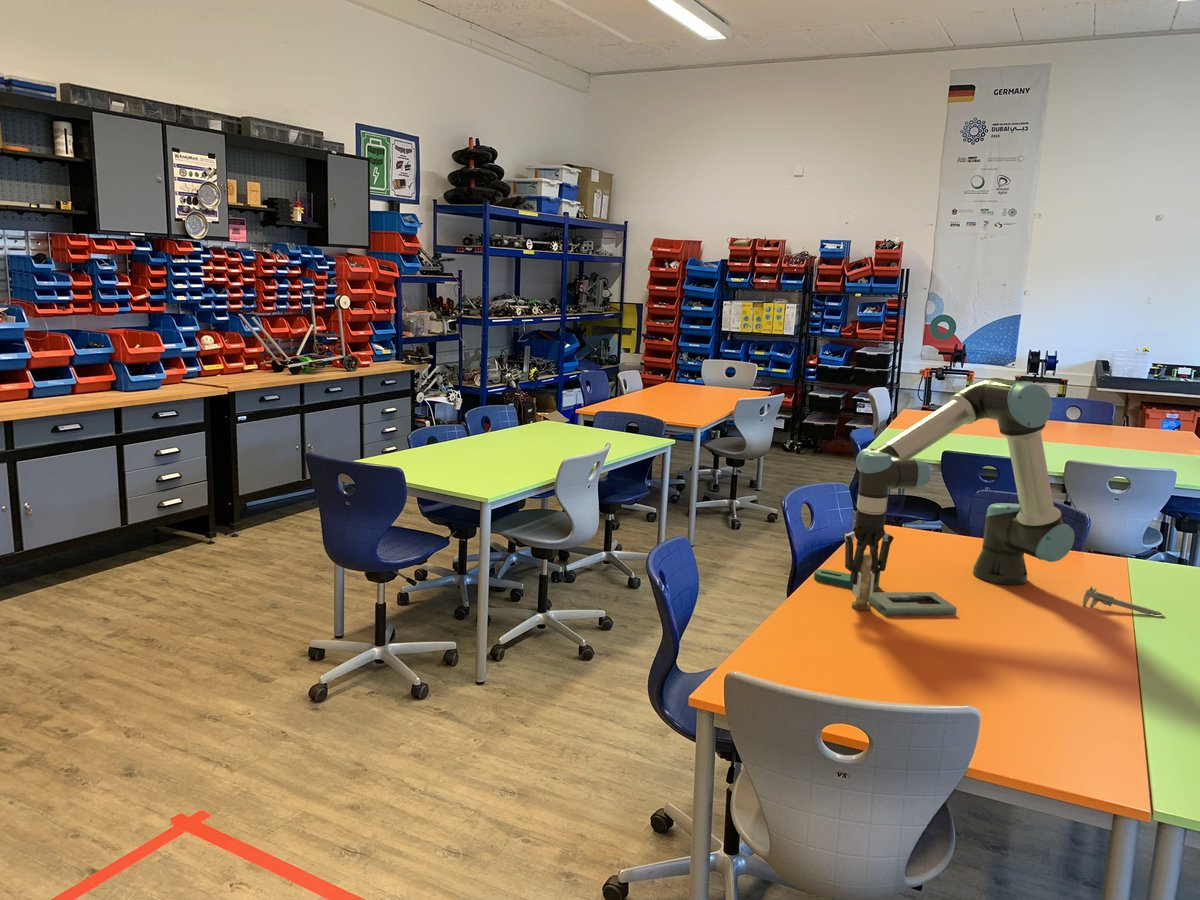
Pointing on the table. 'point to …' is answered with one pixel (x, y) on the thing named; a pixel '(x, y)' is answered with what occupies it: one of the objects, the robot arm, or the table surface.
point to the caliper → (1113, 602)
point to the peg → (864, 584)
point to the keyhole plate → (911, 604)
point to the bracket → (838, 578)
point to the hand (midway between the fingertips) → (862, 595)
